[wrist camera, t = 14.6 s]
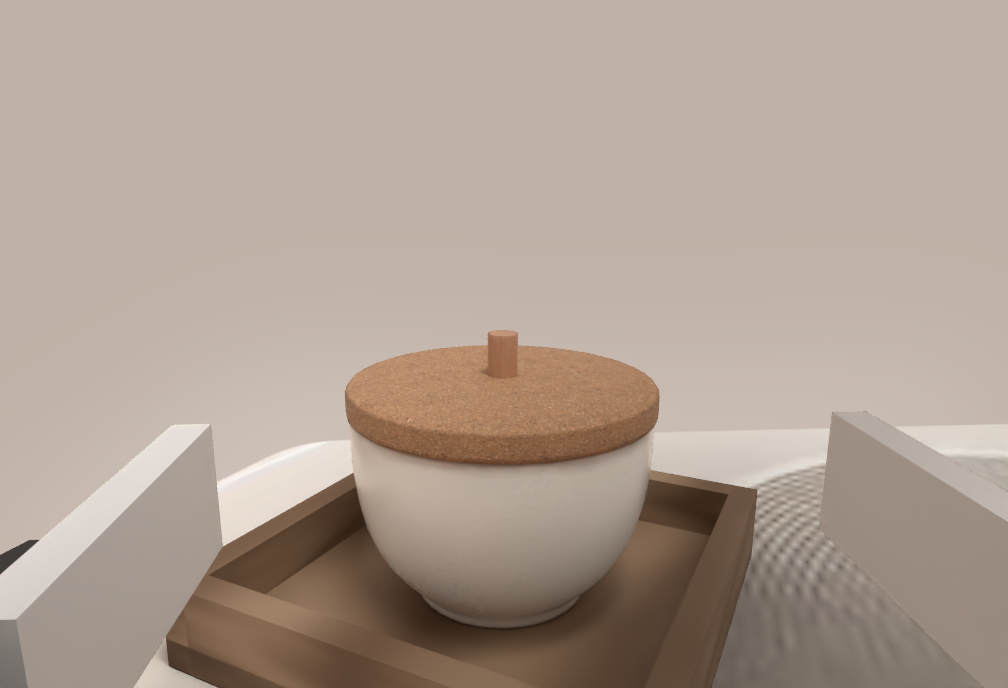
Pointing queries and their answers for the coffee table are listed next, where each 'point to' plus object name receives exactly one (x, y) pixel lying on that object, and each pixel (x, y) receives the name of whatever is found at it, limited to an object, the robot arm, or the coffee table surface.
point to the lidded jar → (501, 473)
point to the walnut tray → (452, 645)
